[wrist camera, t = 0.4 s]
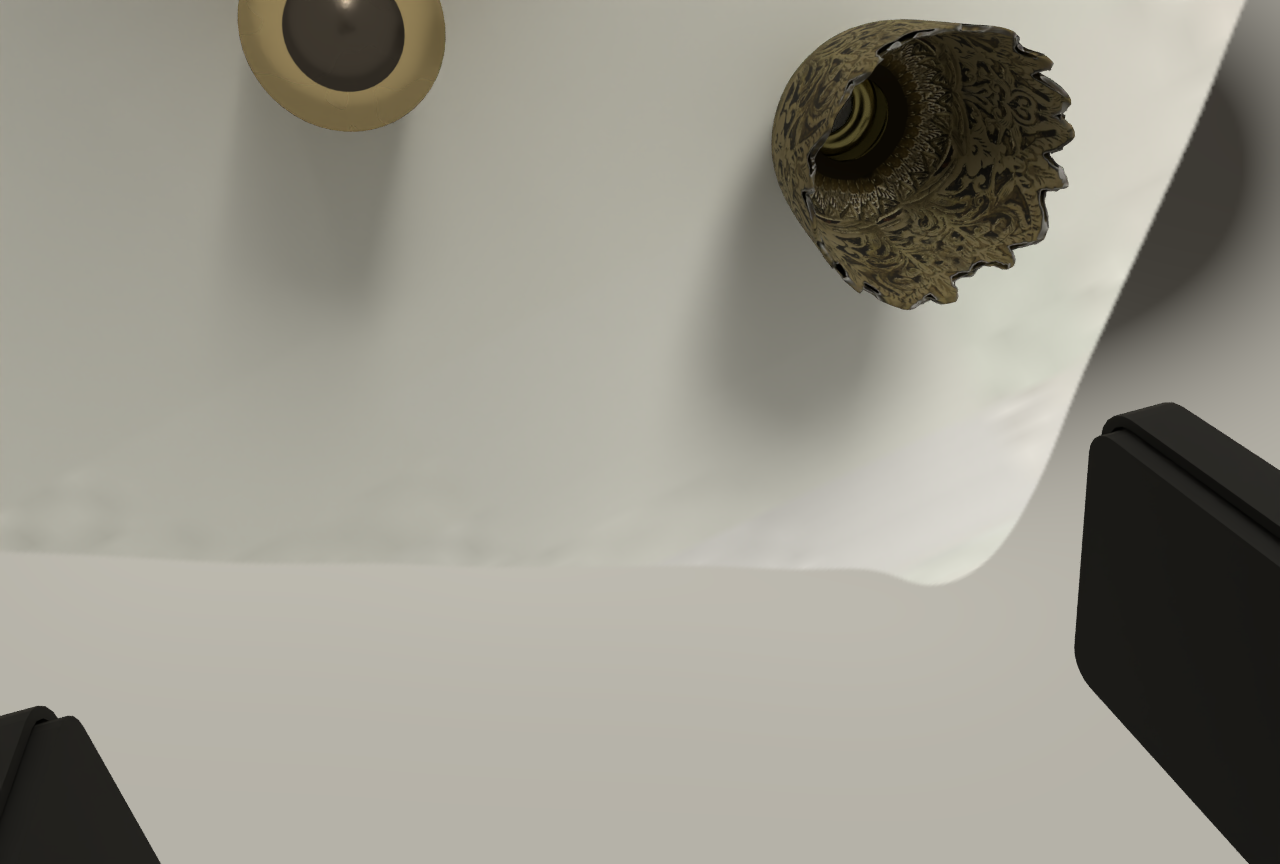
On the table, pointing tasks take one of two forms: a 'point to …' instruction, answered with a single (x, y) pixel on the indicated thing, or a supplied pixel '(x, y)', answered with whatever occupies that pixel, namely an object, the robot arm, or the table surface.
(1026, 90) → the cup
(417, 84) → the cylinder
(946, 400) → the table surface
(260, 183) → the table surface
